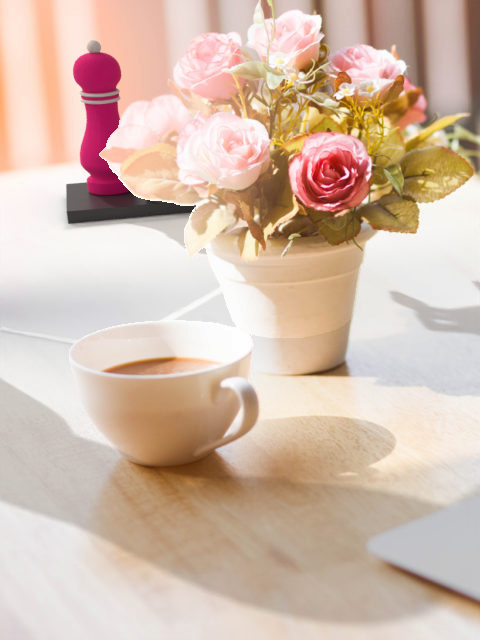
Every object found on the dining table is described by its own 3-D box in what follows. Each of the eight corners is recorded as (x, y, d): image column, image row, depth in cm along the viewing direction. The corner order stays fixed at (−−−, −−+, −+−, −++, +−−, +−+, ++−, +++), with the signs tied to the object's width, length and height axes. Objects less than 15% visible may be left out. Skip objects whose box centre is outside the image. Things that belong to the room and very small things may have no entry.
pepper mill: (72, 193, 159) (51, 42, 151) (108, 180, 165) (89, 34, 157) (116, 199, 156) (96, 46, 149) (150, 185, 163) (133, 38, 155)
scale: (68, 225, 151) (64, 198, 150) (67, 195, 164) (64, 171, 163) (196, 213, 156) (193, 187, 155) (186, 185, 169) (183, 161, 168)
